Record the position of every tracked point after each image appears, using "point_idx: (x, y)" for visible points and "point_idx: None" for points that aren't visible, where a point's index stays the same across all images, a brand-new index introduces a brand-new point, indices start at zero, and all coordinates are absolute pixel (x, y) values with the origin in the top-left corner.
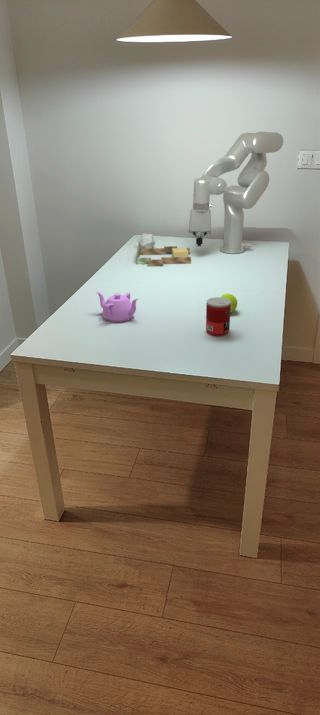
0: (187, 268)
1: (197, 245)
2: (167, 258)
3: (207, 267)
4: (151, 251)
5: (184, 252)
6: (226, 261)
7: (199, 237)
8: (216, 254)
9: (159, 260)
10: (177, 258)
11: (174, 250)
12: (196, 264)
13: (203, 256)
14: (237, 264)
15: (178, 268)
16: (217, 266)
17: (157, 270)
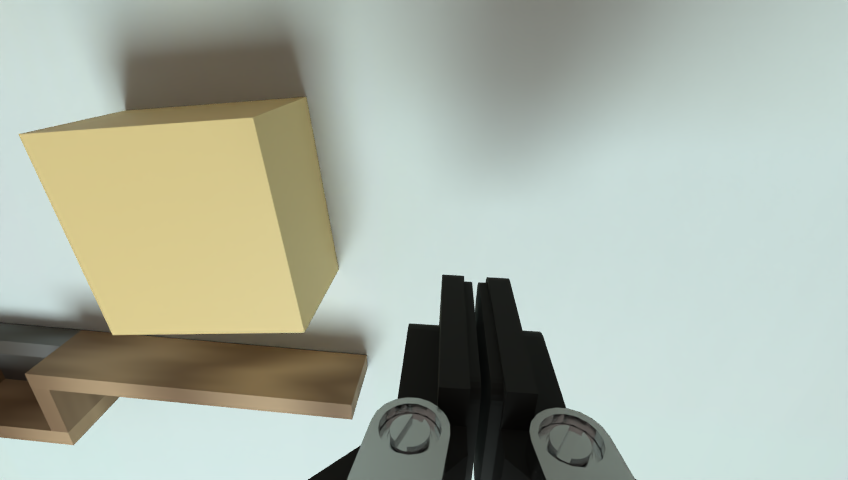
0: None
1: (439, 323)
2: (101, 388)
3: None
4: None
5: (255, 328)
6: (767, 352)
7: (490, 386)
8: (787, 31)
9: (45, 437)
10: (207, 396)
11: (94, 251)
12: None
13: (549, 124)
14: (832, 446)
15: (262, 457)
16: None
17: (108, 470)
